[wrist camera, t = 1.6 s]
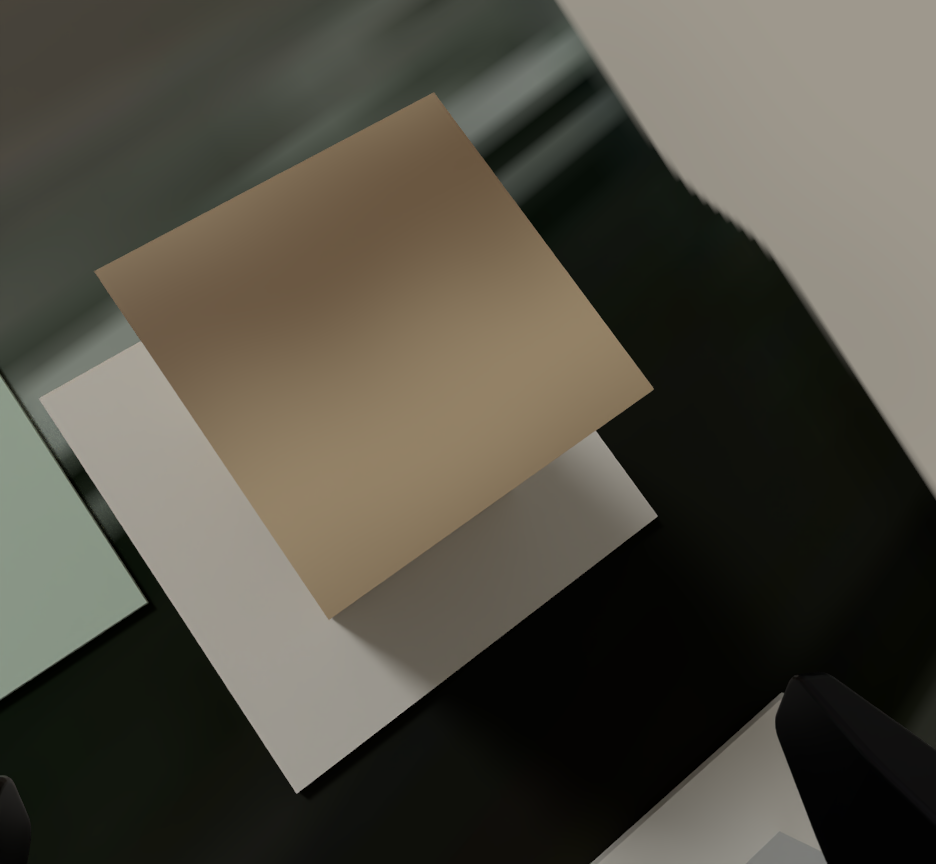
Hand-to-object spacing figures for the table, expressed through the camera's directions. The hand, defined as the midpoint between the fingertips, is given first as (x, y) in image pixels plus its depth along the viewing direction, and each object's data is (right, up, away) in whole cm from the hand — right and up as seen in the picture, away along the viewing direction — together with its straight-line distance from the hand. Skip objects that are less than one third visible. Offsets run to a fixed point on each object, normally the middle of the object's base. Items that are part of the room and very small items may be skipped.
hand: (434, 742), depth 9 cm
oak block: (-2, +3, +12) cm, 13 cm away
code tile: (-3, +3, +13) cm, 13 cm away
